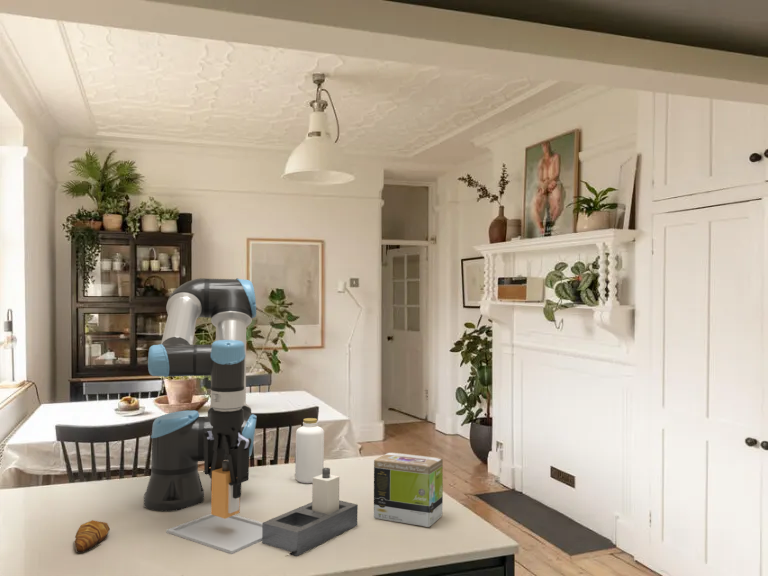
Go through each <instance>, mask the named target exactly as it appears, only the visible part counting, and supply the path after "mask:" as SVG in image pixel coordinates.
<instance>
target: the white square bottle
mask: <svg viewBox="0 0 768 576" xmlns="http://www.w3.org/2000/svg"><path fill="white" fill-rule="evenodd" d="M311 492H312V494H311V495H312V496H311V498H312V499H311V500H312V501H311V502H312V511H316V512H320V513H324V514H330V513H333V512H335V511H337V510H339V500H340V476H339V475H338V476H337V475H334V474H331V468H330V467H324V468H323V469H322V475H319V476H316V477H314V478H313V483H312V491H311Z"/></svg>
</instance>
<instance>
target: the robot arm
mask: <svg viewBox="0 0 768 576" xmlns="http://www.w3.org/2000/svg"><path fill="white" fill-rule="evenodd" d="M255 293H256V292H255V287H254V284H253V282H252V281H251V280H249V279H241V278H234V279H233V278H202V277H201V278H195V279H192V280H188V281H186V282H184V283H183V284H181V285H179V286H178V287H177V288H176V289H175V290H174V291H172V293H171V294H170V296H169V297H168V300H167V302H166V308H165V309H166V312H167V313H166V314H167V318H166V323H165V326H164V331H163V335H162V338H161V343H160V344H153V345H151V346H150V347H149V348H148V357H147V368H148V369H147V370H148V373H149V375H150V376H152V377H164V378H167V377H205V376H206V377H209V376H210V407H209V408H208V409H207V416H206V415H205V416H200V413H199V411H198V410H195V409H193V410H178V411H175V412H174V411H173V412H169V413H165V414H162V415H160V416H158V417H157V418H155V419H154V421H153V422H152V428H151V430H152V431H151V435H150V437H151V467H150V468H151V469H150V470H151V472H150V477H149V480H148V484H147V487H146V489H145V493H144V495H143V507H144V508H146V509H147V510H151V511H154V512H155V511H156V512H177V511H182V510H185V509H188V508H191V507H194V506H197V505H200V504H203V503H204V502H205V489H204V487H203V484H202V480H201V478H200V477H201V476H200V473H199V471H198V469H199V467H198V466H199V464H198V463H199V462H203V463H204V468H203V469H204V470H203V473H204V474H205V475H208V476H209V478H210V491H211V492H212V471H213V470H217V469H220V468H222V462H223V461H228V463H229V470H230V477H231V483H229V490H228V513H233V512H235V511H238V510H239V497H240V498H241V496H242V484H243V483H245V482H247V481H249V477H250V476H249V475H250V457H251V456H252V454H253V446H254V439H255V433H256V426H257V415H256V414H254V413H252V408H251V407H250V406H249V405H248V404H247V401H246V398H247V397H246V396H247V395H246V394H247V327H249V326H250V325H251V323H252V319H255V318H256V317H257V301H256V294H255ZM198 318H205V319H206V318H208V319H209V318H210V322H211V324H212V325H213V327H215V341H213V342H212V343H211V344H194V338H195V331H196V324H197V319H198ZM236 477H237V478H236Z"/></svg>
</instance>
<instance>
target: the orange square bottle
mask: <svg viewBox="0 0 768 576" xmlns="http://www.w3.org/2000/svg"><path fill="white" fill-rule="evenodd" d="M236 478H237V477H236ZM229 483H231V477H230V470H229V463H228V460H224V461H223V462H222V468H220V469H217V470H213V471H212V491H211V495H210V496H211V499H210V500H211V505H210V508H211V509H210V510H211V511H210V512H211V513H210V514H212V515H215V516H218V517H221V518H224V519H226V518H228V517H231V516H233V515H238V514H239V513H240V512H241V511H240V509H241V508H240V507H241V503H240V502H241V497H239V510H238V511H235V512H233V513H228V490H229Z"/></svg>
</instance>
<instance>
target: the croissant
mask: <svg viewBox="0 0 768 576" xmlns="http://www.w3.org/2000/svg"><path fill="white" fill-rule="evenodd" d="M109 531H110V527H109V524H108V522H104V521H98V520H93V519H92V520H89V521H88V522H85V523H81V524H80V526H79V527H78V529H77V531H76V533H75V537H74V538H75V540H74V541H73V542H74V545H75V550H76V553H79V554H80V553H85V552H88V551H90V550H92V549H93V548H95V547H96V546H97V545H99V544H100V543H101V542H103V541H104V540H105V538H106V537H107V535H108V533H109Z"/></svg>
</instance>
